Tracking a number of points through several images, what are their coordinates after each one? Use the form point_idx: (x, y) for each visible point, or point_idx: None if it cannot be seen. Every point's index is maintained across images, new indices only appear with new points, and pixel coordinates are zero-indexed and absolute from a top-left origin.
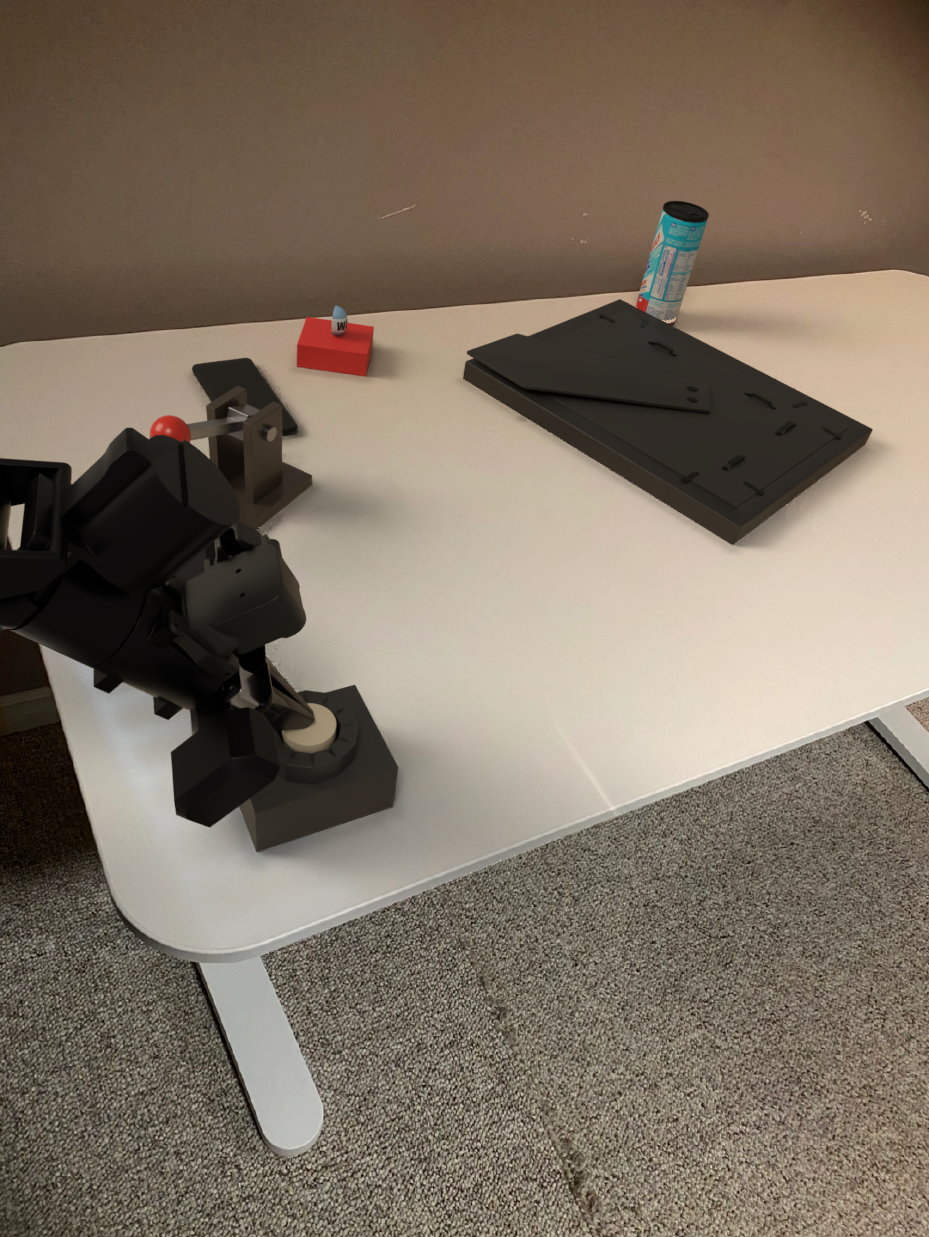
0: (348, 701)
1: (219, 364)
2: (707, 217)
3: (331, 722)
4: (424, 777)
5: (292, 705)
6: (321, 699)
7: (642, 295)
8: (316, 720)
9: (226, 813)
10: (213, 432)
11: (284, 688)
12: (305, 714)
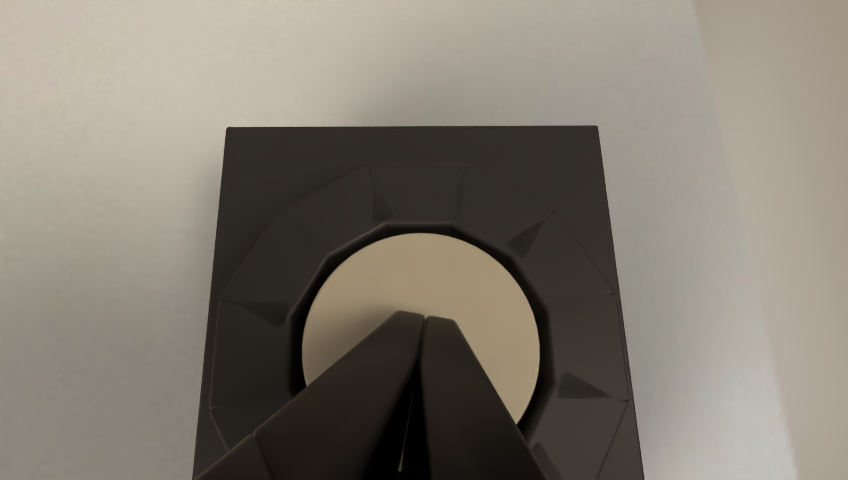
0: (288, 171)
1: None
2: None
3: (447, 254)
4: (488, 111)
5: (493, 443)
6: (295, 251)
7: None
8: (414, 309)
9: None
10: None
11: (368, 466)
12: (475, 363)
